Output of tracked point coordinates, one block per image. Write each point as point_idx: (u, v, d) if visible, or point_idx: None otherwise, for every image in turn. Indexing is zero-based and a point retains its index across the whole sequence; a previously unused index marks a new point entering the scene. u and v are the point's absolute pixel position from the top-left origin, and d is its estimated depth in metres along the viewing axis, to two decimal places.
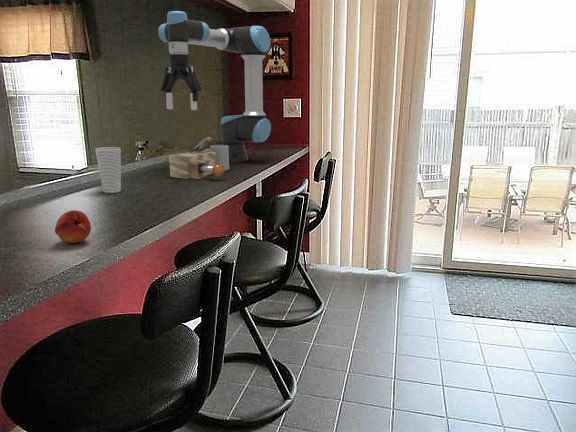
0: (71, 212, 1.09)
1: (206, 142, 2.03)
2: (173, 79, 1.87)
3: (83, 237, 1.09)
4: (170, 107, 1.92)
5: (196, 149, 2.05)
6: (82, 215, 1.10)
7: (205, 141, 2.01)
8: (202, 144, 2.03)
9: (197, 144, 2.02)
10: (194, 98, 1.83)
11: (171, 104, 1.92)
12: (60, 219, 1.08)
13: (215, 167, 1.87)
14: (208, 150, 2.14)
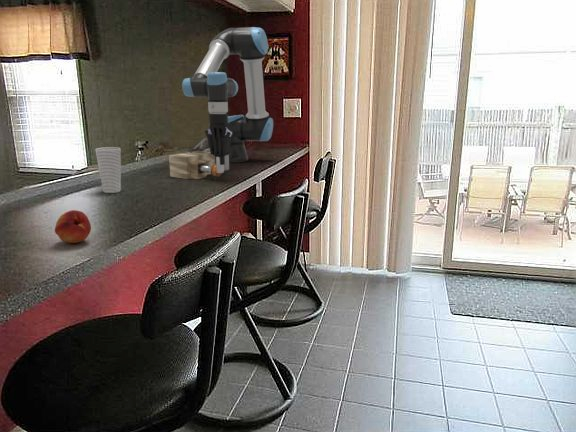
0: (71, 212, 1.09)
1: (206, 142, 2.03)
2: (216, 138, 1.85)
3: (83, 236, 1.09)
4: None
5: (196, 149, 2.05)
6: (82, 215, 1.10)
7: (205, 141, 2.01)
8: (202, 144, 2.03)
9: (197, 144, 2.02)
10: (221, 162, 1.87)
11: None
12: (60, 219, 1.08)
13: (213, 167, 1.88)
14: (208, 150, 2.14)
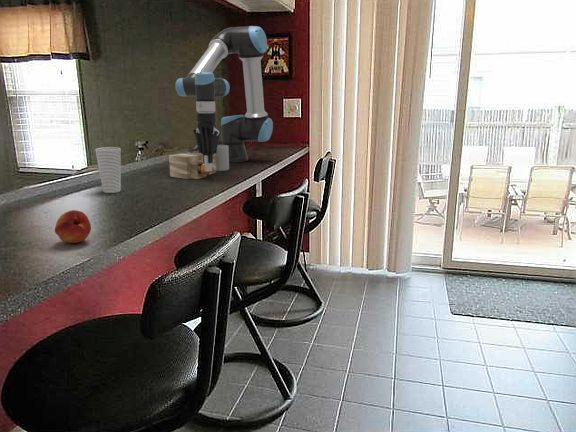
0: (71, 212, 1.09)
1: None
2: (204, 137, 1.89)
3: (83, 236, 1.09)
4: None
5: (196, 149, 2.05)
6: (82, 215, 1.10)
7: None
8: None
9: None
10: (209, 160, 1.90)
11: None
12: (60, 219, 1.08)
13: (202, 165, 1.91)
14: None
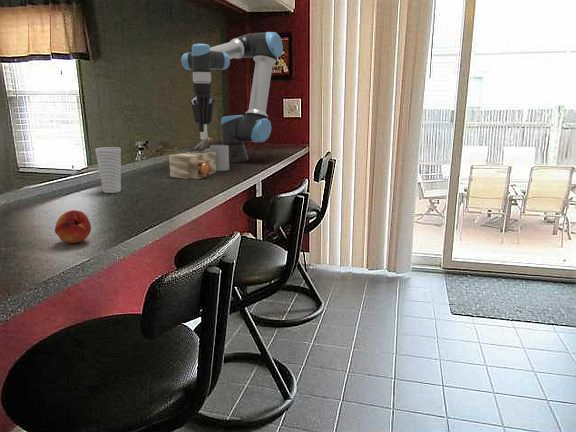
0: (71, 212, 1.09)
1: (206, 142, 2.03)
2: None
3: (83, 237, 1.09)
4: None
5: (196, 149, 2.05)
6: (82, 215, 1.10)
7: (205, 141, 2.01)
8: (202, 144, 2.03)
9: (197, 145, 2.02)
10: None
11: None
12: (60, 219, 1.08)
13: (202, 165, 1.91)
14: (208, 150, 2.14)
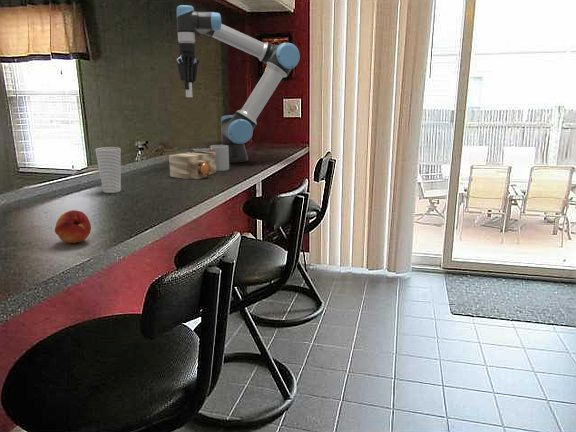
0: (71, 212, 1.09)
1: None
2: None
3: (83, 237, 1.09)
4: None
5: None
6: (82, 215, 1.10)
7: (208, 150, 2.01)
8: None
9: (199, 149, 2.02)
10: None
11: None
12: (60, 219, 1.08)
13: (202, 165, 1.91)
14: None
